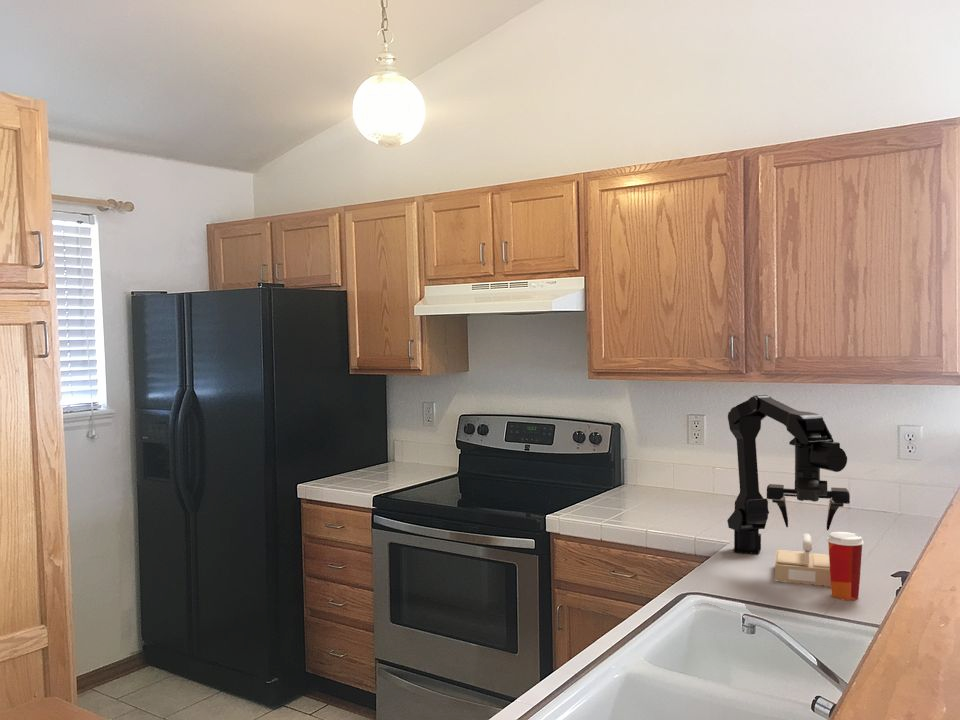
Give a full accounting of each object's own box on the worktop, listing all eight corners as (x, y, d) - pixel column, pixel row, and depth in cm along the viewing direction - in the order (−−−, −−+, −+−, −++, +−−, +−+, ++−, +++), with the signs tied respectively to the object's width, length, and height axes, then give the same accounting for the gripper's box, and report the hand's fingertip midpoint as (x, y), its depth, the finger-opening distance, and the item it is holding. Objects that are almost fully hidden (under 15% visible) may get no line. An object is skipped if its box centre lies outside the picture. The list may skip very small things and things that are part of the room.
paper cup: (853, 590, 190) (853, 530, 189) (870, 601, 182) (870, 539, 182) (820, 591, 189) (820, 531, 189) (835, 602, 182) (835, 540, 181)
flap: (777, 562, 198) (777, 541, 198) (778, 551, 208) (778, 531, 208) (811, 566, 195) (811, 544, 195) (811, 553, 205) (811, 533, 205)
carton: (775, 581, 197) (775, 563, 197) (776, 566, 209) (776, 549, 209) (847, 588, 191) (847, 569, 191) (844, 572, 204) (844, 554, 203)
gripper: (765, 468, 196) (765, 533, 196) (851, 472, 189) (851, 539, 189) (767, 461, 206) (767, 522, 207) (848, 465, 199) (848, 528, 200)
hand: (807, 528), depth 200 cm, fingers open, 9 cm apart
